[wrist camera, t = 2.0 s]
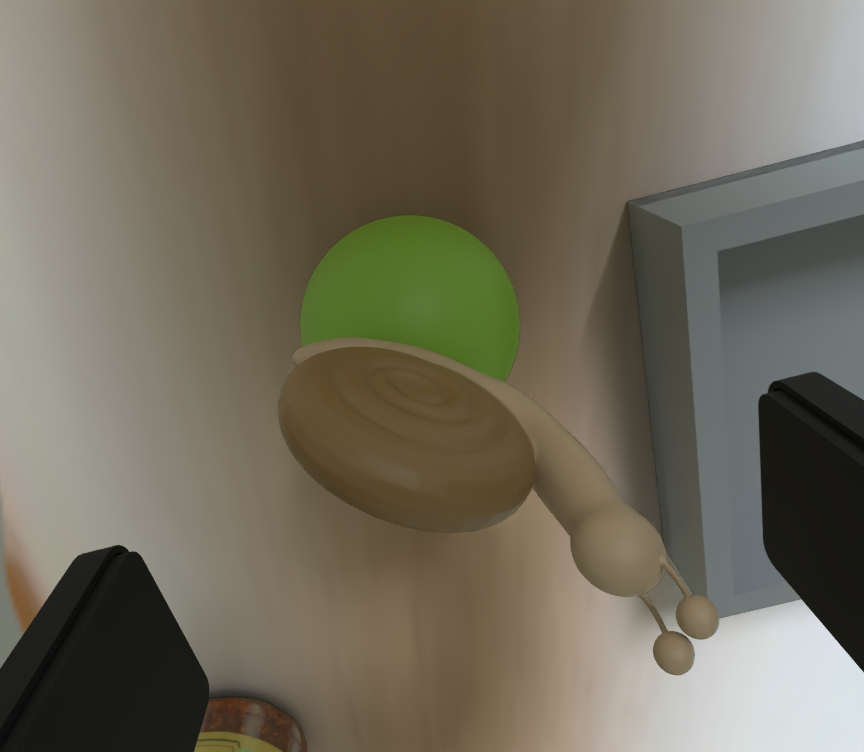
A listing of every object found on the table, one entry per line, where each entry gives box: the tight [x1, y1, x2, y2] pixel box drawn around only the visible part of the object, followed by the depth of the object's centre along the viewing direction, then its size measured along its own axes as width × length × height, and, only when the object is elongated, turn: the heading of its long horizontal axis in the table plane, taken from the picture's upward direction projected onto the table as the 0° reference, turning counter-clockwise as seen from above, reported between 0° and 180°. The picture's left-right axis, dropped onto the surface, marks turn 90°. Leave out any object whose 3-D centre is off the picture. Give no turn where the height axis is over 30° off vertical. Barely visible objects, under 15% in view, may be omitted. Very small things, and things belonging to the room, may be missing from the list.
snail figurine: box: [278, 215, 719, 675], centre depth 13 cm, size 5×6×12 cm
